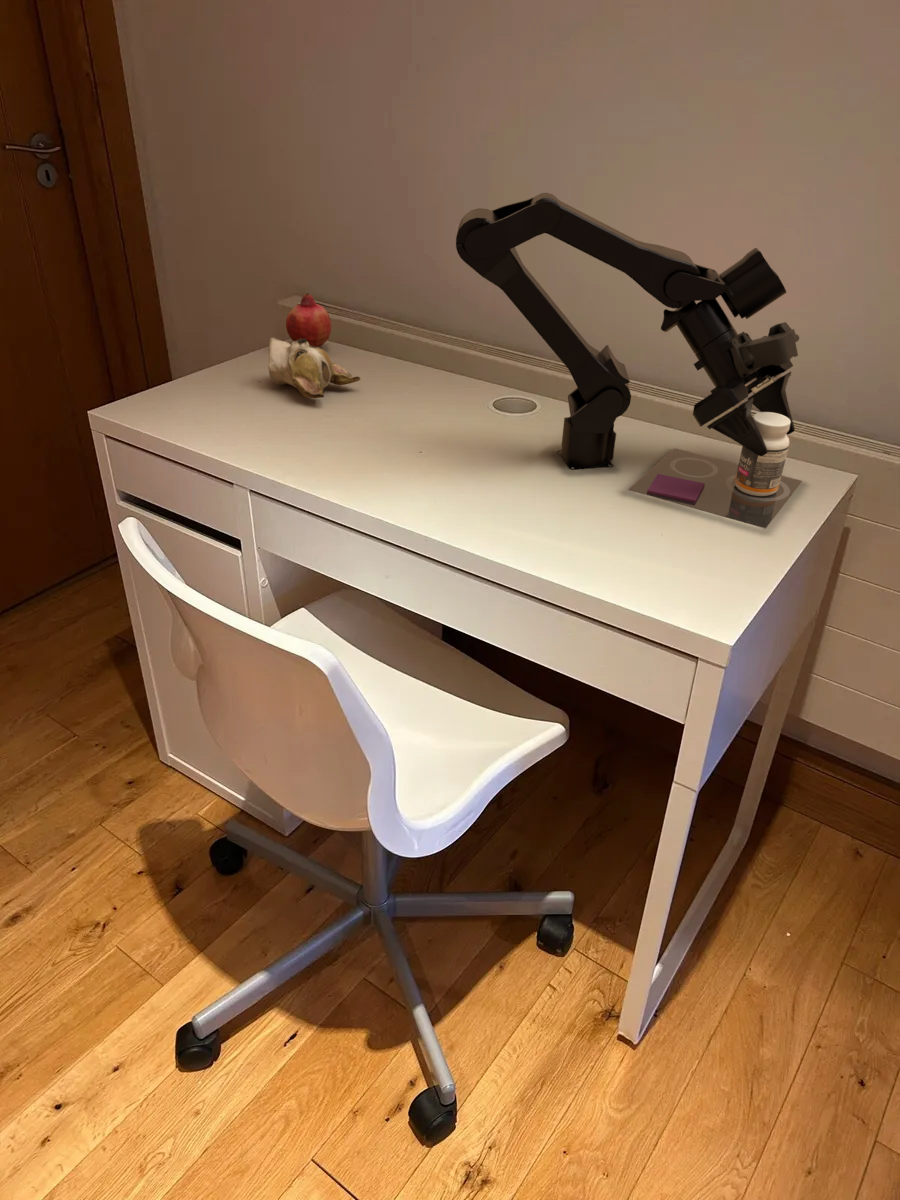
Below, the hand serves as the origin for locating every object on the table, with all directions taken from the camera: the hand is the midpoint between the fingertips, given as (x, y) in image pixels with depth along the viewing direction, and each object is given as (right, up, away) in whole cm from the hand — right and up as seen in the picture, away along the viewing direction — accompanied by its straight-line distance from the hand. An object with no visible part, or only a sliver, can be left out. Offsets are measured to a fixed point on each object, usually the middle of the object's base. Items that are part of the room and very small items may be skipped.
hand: (778, 443), depth 121 cm
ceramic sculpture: (-66, +14, +32) cm, 75 cm away
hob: (-7, -5, +5) cm, 10 cm away
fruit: (-68, +25, +49) cm, 88 cm away
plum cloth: (-12, -6, +3) cm, 14 cm away
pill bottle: (-2, -6, +4) cm, 7 cm away
